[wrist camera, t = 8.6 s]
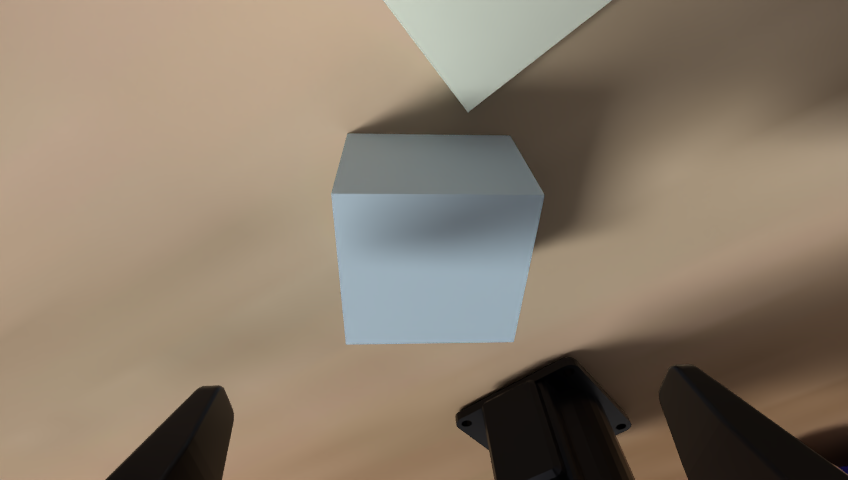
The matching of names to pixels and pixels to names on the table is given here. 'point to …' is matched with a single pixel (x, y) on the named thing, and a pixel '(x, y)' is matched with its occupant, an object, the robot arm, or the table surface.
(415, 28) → the baseplate
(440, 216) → the blue brick
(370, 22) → the table surface
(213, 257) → the table surface
